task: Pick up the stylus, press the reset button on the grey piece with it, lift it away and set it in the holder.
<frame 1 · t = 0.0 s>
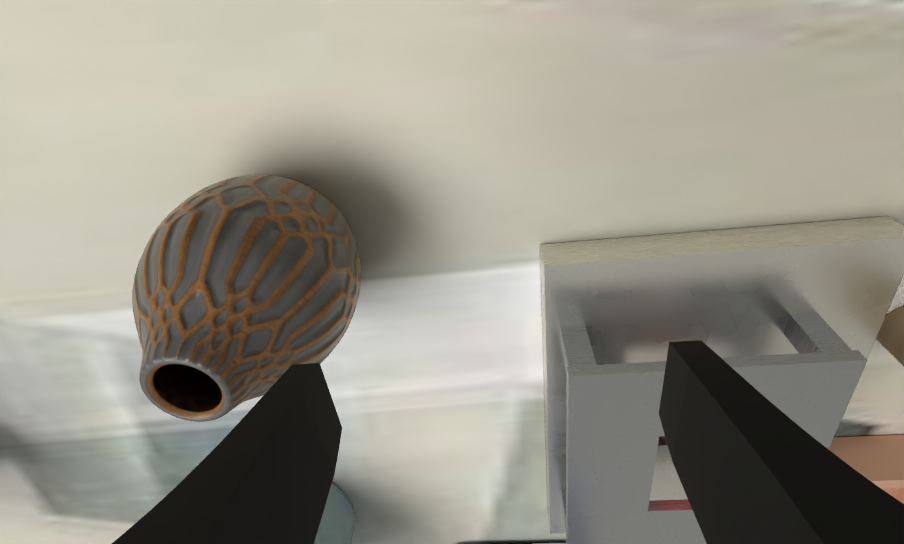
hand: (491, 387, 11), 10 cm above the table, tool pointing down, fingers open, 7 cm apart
vase: (292, 229, 21), on the table
grey piece: (679, 394, 24), on the table
holder: (858, 470, 27), on the table
drinking glass: (287, 506, 31), on the table
reset button: (698, 435, 22), point 2 cm above the table, slide at 0.0 cm
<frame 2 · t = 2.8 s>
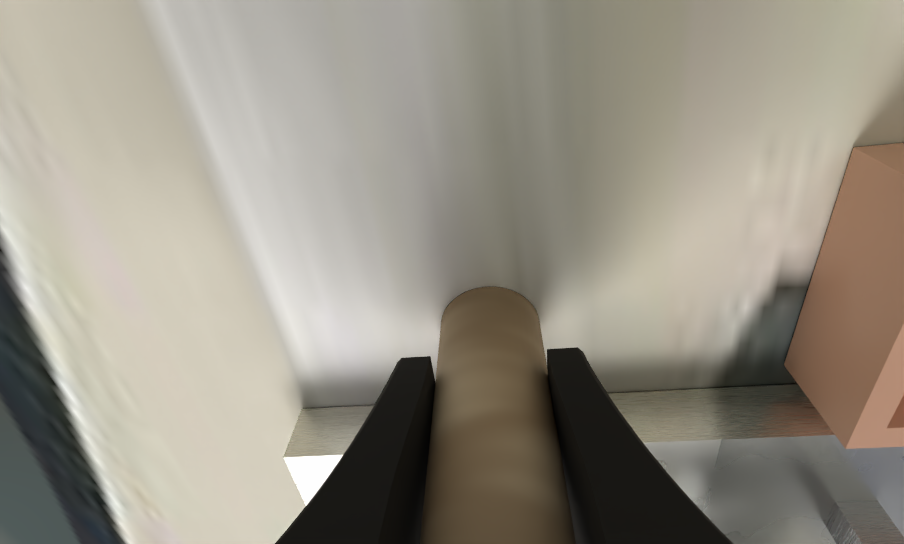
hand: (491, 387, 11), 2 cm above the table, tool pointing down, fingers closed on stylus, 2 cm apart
grey piece: (615, 530, 17), on the table
stylus: (489, 327, 12), on the table, touching gripper
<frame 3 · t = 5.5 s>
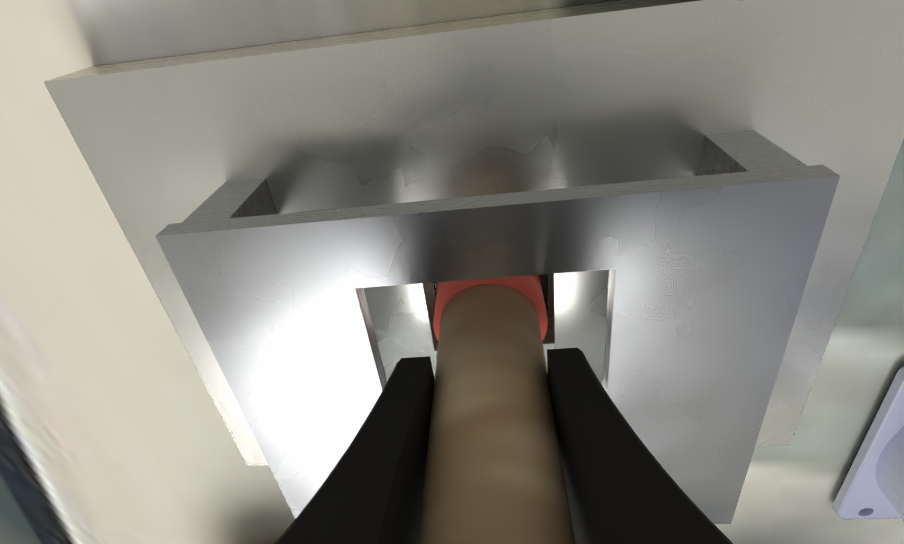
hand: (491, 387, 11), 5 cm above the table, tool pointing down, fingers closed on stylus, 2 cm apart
grey piece: (488, 266, 15), on the table
reset button: (489, 295, 13), point 1 cm above the table, slide at 1.0 cm, touching stylus
stylus: (489, 324, 12), point 3 cm above the table, touching gripper, reset button
when the fingers open (3 cm above the table, at t = 8.9 s): stylus stays where it is, resting on holder.
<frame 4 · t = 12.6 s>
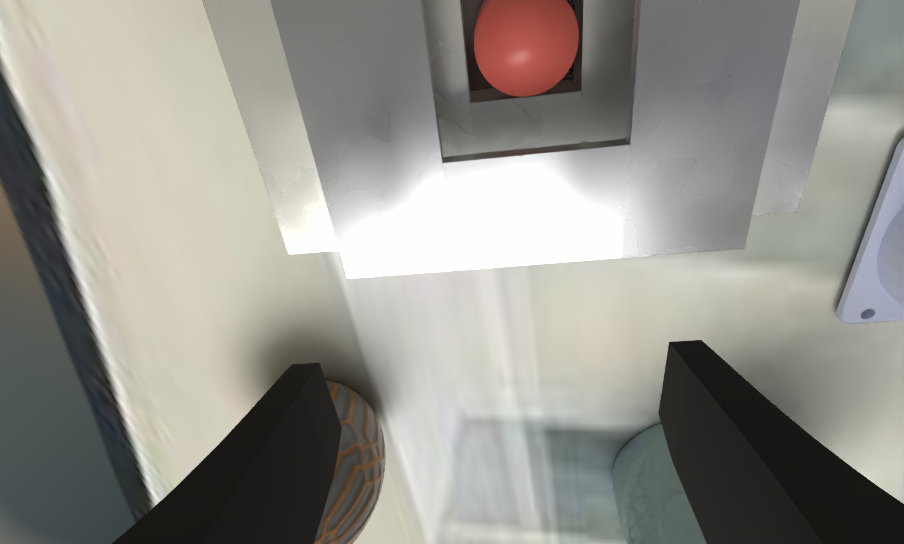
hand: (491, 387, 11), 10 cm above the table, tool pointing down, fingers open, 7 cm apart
vase: (328, 404, 26), on the table
grey piece: (518, 29, 16), on the table
drinking glass: (695, 464, 27), on the table
reset button: (522, 36, 15), point 1 cm above the table, slide at 1.0 cm
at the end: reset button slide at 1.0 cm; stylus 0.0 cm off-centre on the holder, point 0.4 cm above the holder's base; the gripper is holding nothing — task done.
